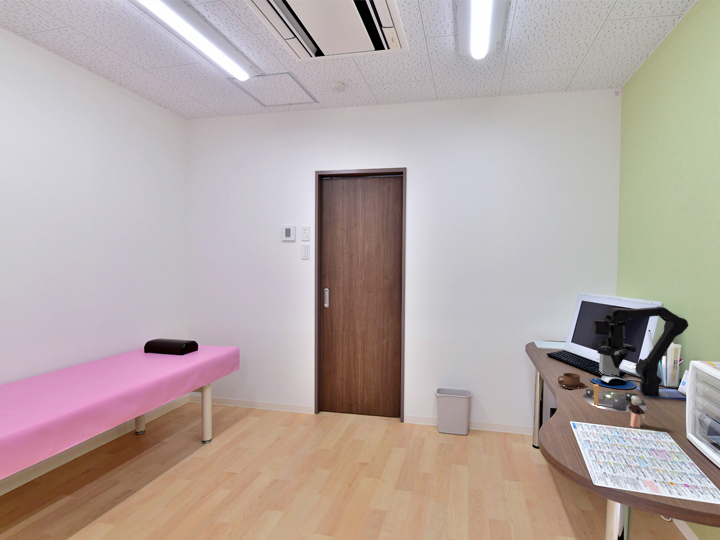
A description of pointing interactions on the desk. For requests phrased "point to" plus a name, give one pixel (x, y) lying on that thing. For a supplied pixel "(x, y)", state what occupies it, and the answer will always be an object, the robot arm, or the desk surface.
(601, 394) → the levelling plate
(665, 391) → the desk surface
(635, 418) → the grandmother figurine
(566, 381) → the cup and saucer
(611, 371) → the skincare box
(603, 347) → the robot arm
